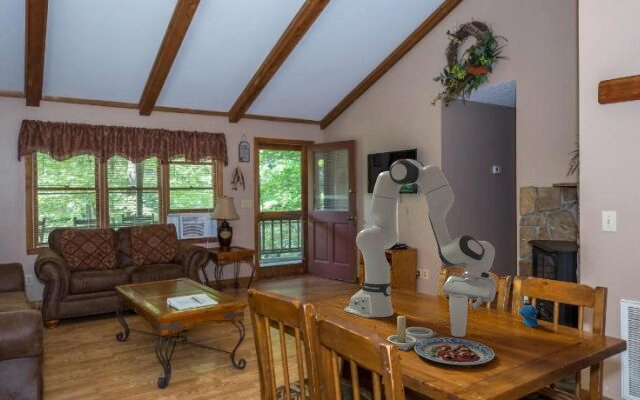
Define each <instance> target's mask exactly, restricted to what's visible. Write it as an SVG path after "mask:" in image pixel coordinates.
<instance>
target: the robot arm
mask: <svg viewBox="0 0 640 400" xmlns="http://www.w3.org/2000/svg"><path fill="white" fill-rule="evenodd" d="M411 185H412V186H413V185H418V186H419V187H420V188H421V190H422V192H423V195H424V197H425V200H426V203H427V207H428V212H427V213H428V215H427V216H428V219H429V223H430V226H431V229H432V232H433V235H434V238H435V241H436V245H437V252H438V256H439V259H440V260H441V262H442V263H443V264H444V265H445V266H448V267H455V266H456V267H457V265H459V264H461V263H465V264H466V265H465V268H464V270H463V272H462V275H460V274H451V275H450V276H448V278H447V280H446V281H445V282H444V284H443V286H442V291H443V292H444V294H445V295H446V296H448V297H450V295H454V294H458V295H465V296H467V297H468V300H473V301H475V302H472V303H471V304H470V305H471V306H470V308H471V309H472V310H475V311H476V310H477V308H478V307H479V306H481V305H482V304H483V302H485V303H492V302H493V301H494V300H495V298H496V294H497V290H496V288H497V286H498V284H497V281H496V278H495V277H494V276H493V275H492V274H491V273H489V271H490V269H492V266H493V263H494V259H495V256H496V249H495V247H494V246H493V245H492V244H491V243H490V242H489V241H485V240H478V239H477V238H475V237H473V236H471V235H470V234H469V235H468V234H467V235H462V236H459V237H457V238H455V239H453V240H452V238H451V235H450V232H449V230H448V226H447V224H446V219H447V215H448V213H449V211H450V210H451V208H452V207H453V205H454V203H455V193H454V191H453V189H452V187H451V185H450V183H449V180H448V179H447V177H446V175H445V173H444V172H443V171H442V169H441V168H440V167H439V166H438V165H436V164H428V165H425V166H424V163H422V162H421V161H419V160H417V159H413V158H405V159H404V158H402V159H397V160H395V161H393V163H391V165H390V167H389V170H386V171H383V172H380V173H378V176H377V178H376V182H375V184H374V187H373V193H372V198H371V203H370V209H369V212H370V214H371V216H372V217H371V218H372V226H371V227H366V228H363V229H362V230H361V231H359V232H358V233H357V236H356V239H355V243H356V246H357V247H358V249H359V250H360V252H361V254H362V256H363V262H364V281H363V282H360V283H359V284H360V285H359V286H362V287H361V289H360V290H358V292H356V293H355V294H353V295H352V296H351V297H350V300H349V305H348V306H346V307H345V308H344V309H343V310H344V312H346V313H350V314H353V315H356V316H359V317H362V318H367V319H369V318H388V317H391V316H393V315H394V314H395V313H394V310H393V309H394V308H393V306H392V305H393V304H392V299H391V298H392V297H391V295H392V294H391V293H392V283H391V265H390V264H391V263H389V262H388V260H387V257H386V253H385V252H386V251H385V250H389V249H391V248H392V247H393V246H395V245H396V244H397V242H398V239H399V238H398V237H399V234H398V232H397V230H396V210H397V204H398V198H399V193H400V190H401V188H402V187H403V186H411ZM447 303H448V304H449V301H448V302H447Z"/></svg>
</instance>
